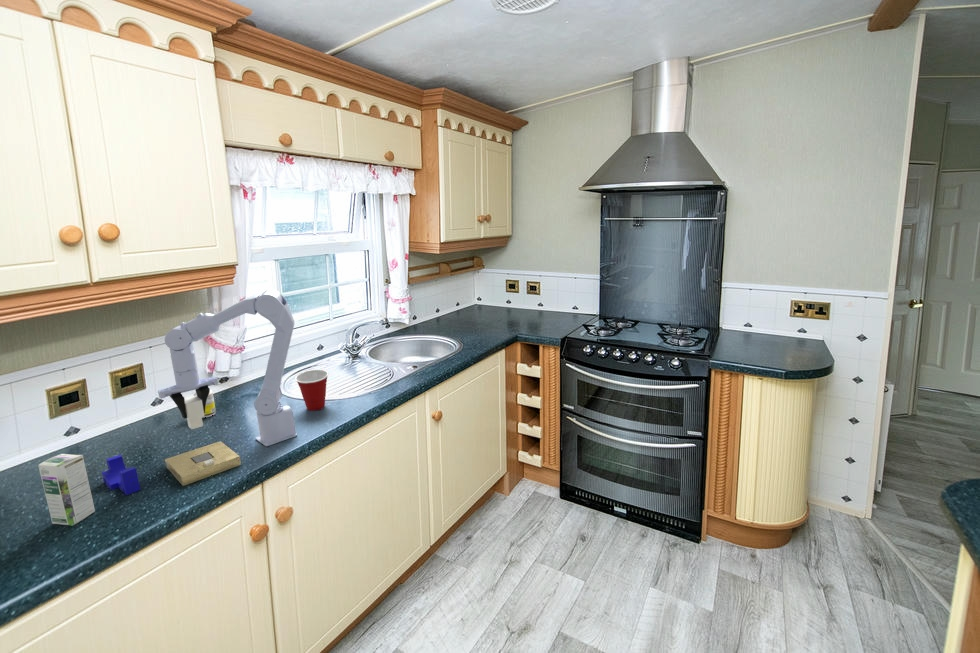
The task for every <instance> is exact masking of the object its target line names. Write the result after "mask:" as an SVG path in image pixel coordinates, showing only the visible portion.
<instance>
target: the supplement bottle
mask: <svg viewBox="0 0 980 653" xmlns="http://www.w3.org/2000/svg"><path fill="white" fill-rule="evenodd" d="M208 388H210V386H208ZM194 391H195V392H194V393H193V397H194V396H197V393H196V390H194ZM215 405H216V403H215V398H214V393H213V390H212V389H210V393H209V395H208V397H207V401H206V406H205V413H204V416H205V417H206V418H210V417H213V416H214V415H215V414H216V413H217V412H216V406H215ZM212 415H213V416H212ZM205 417H202V419H204V418H205ZM206 418H205V419H206Z"/></svg>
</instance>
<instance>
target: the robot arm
mask: <svg viewBox="0 0 980 653" xmlns="http://www.w3.org/2000/svg"><path fill="white" fill-rule="evenodd" d="M261 293H262V294H261ZM245 314H247V315H248V314H249V315H254V316H255V315H256V314H259V315H260V316H262V317H263V318H265V319H267V320H268V321H269V322H270V324H272V326H274V328H275V329H274V330H275V331H274V335H273V339H272V343H271V348H270V349H271V350H270V353H269V357H268V361H267V365H266V366H267V367H266V370H265V373H264V374H265V375H264V379H263V382H262V385H261V388H260V390H259V392H258V394H257V397H256V398H255V400H254V402H253V406H254V409H255V410H256V418H257V425H258V431H259V435H258V436H255V440H257V441H258V442H259V443H260V444H263V446H265V447H270V446H272V445H274V444H278V443H281V442H283V441H285V440H289V439H291V438H295V437H298V433H297V430H296V423H295V416H294V412H293V409H292V408H291V407H290V406H289V405H288V404H287V405H282V402H280V400H281V399H282V396H283V394H282V389H281V388H282V387H281V385H282V378H283V375H284V370H285V366H286V362H287V358H288V353H289V349H290V344H291V341H292V336H293V332H294V328H295V327H294V326H295V320H294V317H293V314H292V312H291V310H290V307H289V304H288V300H287V299H286V298H285V297H284V295H283V294H282V293H280V292H279V291H278V290H275V289H268V290H265V291H264V292H260V293H256V294H253V295H251V296H249V297H246V298H244V299H242V300H240V301H238V302H235V303H234V304H232V305H230V306H228V307H227V308H225V309H223V310H220V311H219V312H217V313H215V314H214V313H209V312H205V313H202V312H200V313H198V314H197V315H196V316H195V318H193V319H191V320H189V321H186V322H185V321H183V322H181V323H179V325H177V326H175V327H174V328H172V329H171V330H169V331H168V332H167V333H166V334H165V336H164V344H165V346H166V347H168V348H169V352H170V359H171V364H172V369H173V376H174V380H175V385H172V386H169V387H166V388H162V389H159V390H157V393H158V398H159V399H161V400H162V399H166V398H167V397H169V398H170V399H171V400H172V401H173V402H174V404H175V405H176V406H177V408H178V410H179V413H180V414H181V416H182V418H183V419H186V418H187V413H186V409H185V401H184V399H185V396H183V393H186V392H191V391H195V390H196V391H195V392H196V393H197V397H198V398H200V399H201V400H202V404H203V410H204V413H205V406H206V401H207V397H208V395H209V393H210V390H211V389H210V387H211V386H217V385H218V386H219V382H218V378H217V377H215V376H213V377H208V378H207V377H206V378H200V374H199V368H198V364H197V358H196V353H195V349H194V348H195V347H194V342H196V343H197V342H198V341H200V340H202V339H204V338H206V337H208V336H210V335H212V334H214V333H217V332H218V331H219V330H220V327H221V325H222V324H224V323H227V322H229V321H231V320H234V319H236V318H238V317H241V316H243V315H245ZM208 386H209V388H208Z"/></svg>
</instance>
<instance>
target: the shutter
mask: <svg viewBox="0 0 980 653" xmlns="http://www.w3.org/2000/svg"><path fill="white" fill-rule="evenodd" d="M211 458H213V457H212V456H211V455H210V454H209V453H205V454H203V455H200V456H197V457H194V458H192V461H193V462H195V463H199V462H202V461H205V460H208V459H211Z"/></svg>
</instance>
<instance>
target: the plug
mask: <svg viewBox="0 0 980 653" xmlns="http://www.w3.org/2000/svg"><path fill="white" fill-rule="evenodd" d="M184 401H185V409H186V413H187V418H185V419H186V422H187V426H188V428H189V429H191V430H194V429H195V430H196V429H198V428H202V427H203V426H204V423H203V418H202V417H205V416H204V410H203V404H202V400H201V399H200V398H198V397H197V396H194V395H193V396H191V397H186V398H184Z"/></svg>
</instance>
